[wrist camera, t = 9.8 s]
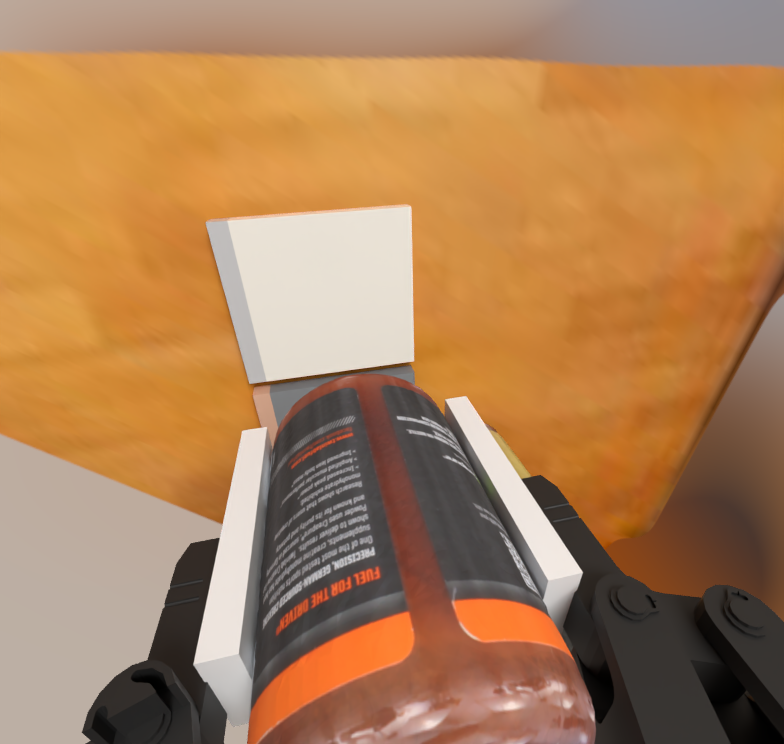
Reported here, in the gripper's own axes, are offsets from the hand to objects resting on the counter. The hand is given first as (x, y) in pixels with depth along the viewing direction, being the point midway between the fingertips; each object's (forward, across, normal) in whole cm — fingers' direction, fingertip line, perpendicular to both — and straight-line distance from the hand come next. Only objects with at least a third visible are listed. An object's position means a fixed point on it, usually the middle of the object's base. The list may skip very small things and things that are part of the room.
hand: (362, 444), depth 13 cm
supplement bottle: (0, 0, 0) cm, 0 cm away
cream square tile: (+16, 0, 0) cm, 16 cm away
